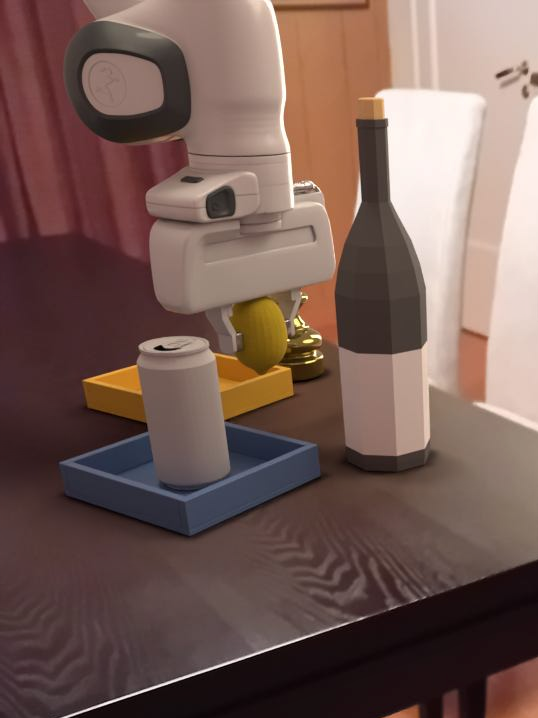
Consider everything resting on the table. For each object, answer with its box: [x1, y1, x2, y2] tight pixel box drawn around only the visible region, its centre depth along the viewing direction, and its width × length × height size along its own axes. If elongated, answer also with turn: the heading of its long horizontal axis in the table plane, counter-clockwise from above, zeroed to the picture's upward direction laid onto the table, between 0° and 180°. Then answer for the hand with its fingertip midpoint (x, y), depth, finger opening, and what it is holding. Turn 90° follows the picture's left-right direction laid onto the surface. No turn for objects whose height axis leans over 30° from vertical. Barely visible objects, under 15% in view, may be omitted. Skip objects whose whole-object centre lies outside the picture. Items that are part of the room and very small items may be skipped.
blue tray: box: [58, 421, 321, 537], centre depth 89 cm, size 16×16×3 cm
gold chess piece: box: [267, 291, 325, 382], centre depth 117 cm, size 7×7×10 cm
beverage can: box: [136, 335, 230, 490], centre depth 86 cm, size 6×6×12 cm
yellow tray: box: [81, 352, 294, 424], centre depth 110 cm, size 16×16×3 cm
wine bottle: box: [334, 97, 431, 473], centre depth 88 cm, size 8×8×30 cm
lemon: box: [228, 296, 288, 375], centre depth 96 cm, size 6×6×8 cm
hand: (258, 344), depth 97 cm, fingers closed on lemon, 5 cm apart
